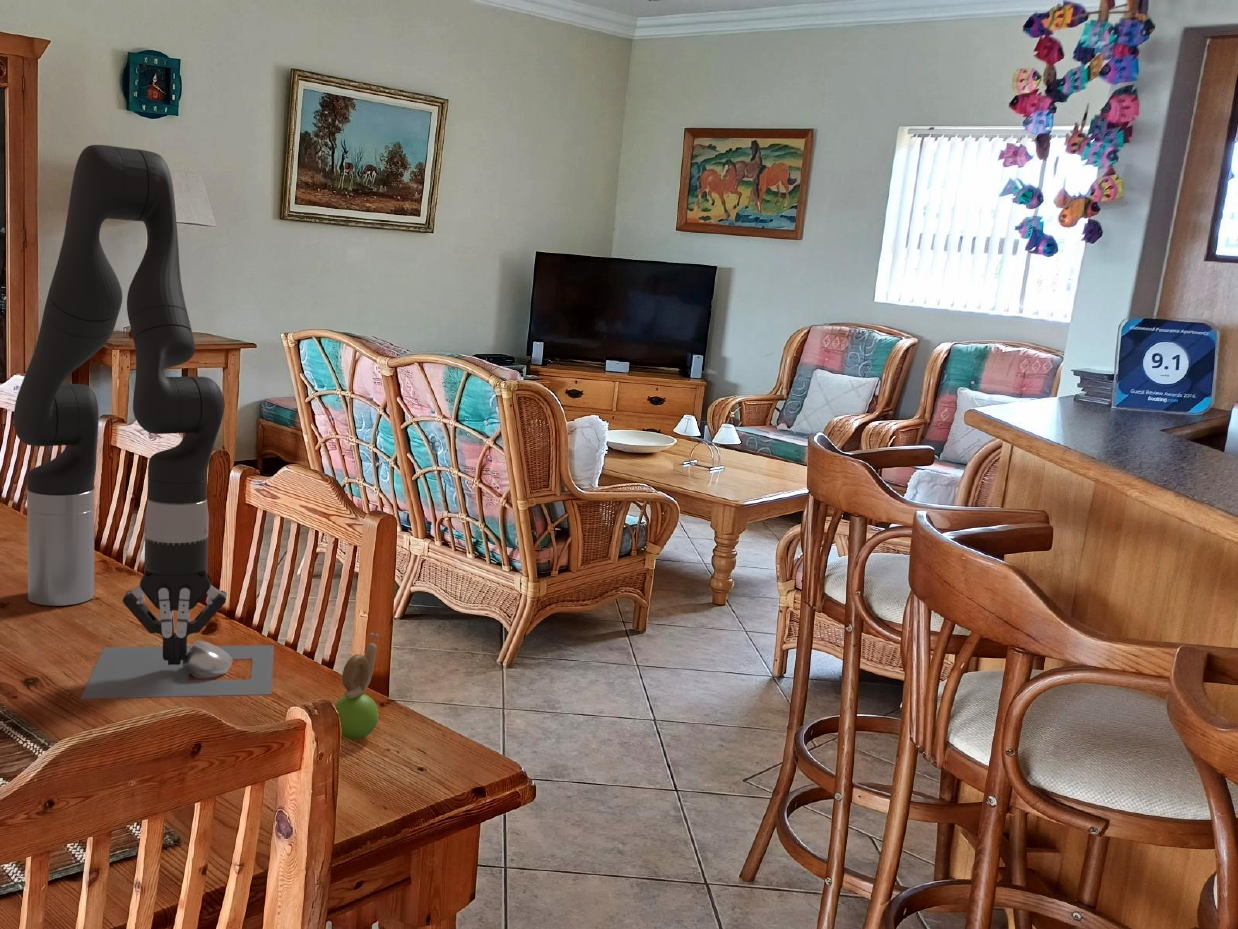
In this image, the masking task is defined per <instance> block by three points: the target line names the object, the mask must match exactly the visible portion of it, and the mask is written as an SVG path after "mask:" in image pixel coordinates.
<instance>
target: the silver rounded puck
mask: <svg viewBox="0 0 1238 929" xmlns="http://www.w3.org/2000/svg"><path fill="white" fill-rule="evenodd" d="M191 646H192V647H191V649H190V650H189V652H188V654H187V655H186V658H185V660H183V662H182V666H183V667H184V669H185V670H186V671H187V672H189V673H190V674H189V675H191V676H192V677H195V678H196V679H210V678H217V677H220V676H222V675H225V674H226V673H228V671H229V669H230V668H231V666H232V664H233V662H234V659H232V657H231V656H230V655H229V654H228V653H227V652H225V651H224V650H223V649H221V648H219V647H217V646H218V645H216V644H215V645H214V644H213V643H210V642H208V641H204V640H195V641H194V642H193V644H192V645H191Z"/></svg>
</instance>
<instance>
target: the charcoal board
mask: <svg viewBox="0 0 1238 929" xmlns="http://www.w3.org/2000/svg"><path fill="white" fill-rule="evenodd" d="M216 646H217V647H219V648H221V649H223V650H224V651H225V652H227V653H228V654H229V655H230V656H231V657H232V659H233V660H251V670H250V678H249V679H203V680H202V679H200V680H199V679H198V680H194V679H193V680H189V677H190V675H191V674H190V673H189V672H187V671H186V670H185V669H184V667H183V666H182V662H183V660H181V663H180V665H168V660H164V659H163V646H119V647H118V646H112V647H111V646H109V647H108V646H107V647H105V646H103V648H102V651H101V652H100V654H99V657H98V659H97V661H96V664H95V665H94V667H93V670H92V672H91V674H90V677H89V678H88V681H87V683H86V685H85V688H84V689H83V691H82V694H81V696H80V698H79V699H80V700H102V699H140V698H141V699H143V698H181V697H183V698H185V697H186V698H187V697H188V698H189V697H190V698H191V697H229V696H235V697H236V696H267V695H269V696H270V695H272V694H273V693H272V692H273V691H272V689H273V672H274V671H273V670H274V650H275V645H266V644H265V645H262V644H261V645H216ZM191 647H192V645H191V646H189V645H187V654H188V652H189V650H190V649H191Z"/></svg>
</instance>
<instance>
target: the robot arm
mask: <svg viewBox="0 0 1238 929" xmlns="http://www.w3.org/2000/svg"><path fill="white" fill-rule="evenodd" d="M169 168H170V167H169V166H168V164H167V162H166V160H165V159H164V157H162V155H160V154H159V153H157V152H154V151H150V150H146V149H145V150H144V149H139V148H138V149H137V148H129V147H128V148H127V147H122V146H113V145H106V144H90V145H87V146H86V147H84V149H83V150H82V151H81V153H80V154H79V156H78V159H77V162H76V164H75V167H74V172H73V176H72V177H73V178H72V184H71V189H70V196H69V203H68V209H67V214H66V216H67V217H66V221H65V223H66V224H65V228H64V234H63V240H62V242H61V248H60V251H59V255H58V258H57V259H58V260H57V263H56V265H55V269H54V273H53V276H52V279H51V283H50V284H49V290H48V293H47V297H46V301H45V304H44V309H43V314H42V318H41V323H40V326H39V327H40V328H39V330H38V335H37V336H38V337H37V340H36V344H35V347H34V351H33V353H32V357H31V359H30V362H29V365H28V368H27V369H26V372H25V374H24V377H23V380H22V382H21V385H20V387H19V390H18V394H17V396H16V400H15V404H14V411H13V428H14V432H15V435H16V436H17V438H18V440H20V442H22V443H23V444H25V445H27V446H33V447H54V446H64V447H65V448H64V450H63V451H62V452H61V453H60V454H59V455H57V456H55V457H54V458H53V459H51V460H49V461H48V462H45V463H43V464H40V465H38V466H35V467H34V468H32V469H30V470H29V471H28V473H27V476H26V508H27V509H26V510H27V511H26V512H27V513H26V514H27V516H26V517H27V518H26V520H27V528H26V530H27V599H28V600H27V601H29V602H30V603H32V604H36V605H41V606H49V607H51V606H52V607H53V606H55V607H56V606H59V607H60V606H61V607H62V606H69V605H70V606H71V605H77V604H82V603H85V602H87V601H90V600H92V599H93V598H94V596H95V477H96V471H97V452H98V451H97V450H98V434H99V419H100V417H99V415H100V414H99V405H98V398H97V396H96V394H95V392H94V390H93V389H92V387H90V386H89V385H86V384H81V383H64V381H65V380H66V379H67V377H68V376H70V375H71V373H74V371H75V370H76V369H78V368H79V367H80V366H82V365H83V364H84V363H86V362H87V361H88V360H89V359H91V358H92V357H93V356H94V355H95V354H96V353H98V352H99V351H100V350H101V349H102V348H103V347H105V345H106V344H107V342H108V341H109V340H110V339H111V337H112V335H113V333H114V330H115V327H116V324H117V320H118V317H119V315H120V310H121V307H122V304H123V290H122V287H121V283H120V281H119V278H118V276H117V275H116V273H115V270H114V268H113V266H112V265H111V263H110V262H109V259H108V258H107V256H106V254H105V252H104V249H103V247H102V244H101V241H100V233H101V228H102V225H103V223H104V221H105V220H107V219H108V220H110V219H111V220H122V221H123V220H124V221H134V222H143V224H144V226H145V228H146V233H147V245H146V249H145V252H144V255H143V257H142V259H141V261H140V263H139V266H138V268H137V270H136V272H135V274H134V276H133V278H132V281H131V282H130V284H129V287H128V292H127V297H126V312H127V317H128V321H129V326H130V332H131V336H132V340H133V344H134V349H135V380H134V381H135V382H134V391H133V398H132V399H133V400H132V410H133V411H132V412H133V415H134V418H135V420H136V422H137V424H138V425H139V426H140V427H141V428H142V429H143V430H144V431H146V432H147V433H149V434H153V435H166V434H167V435H168V434H169V435H170V434H184V436H183V438H182V439H181V441H180V443H178V444H177V445H176V446H173V447H171V448H168V449H165V450H161V451H157V452H156V453H154V454H152V455H151V456H150V458H149V460H148V465H147V499H146V500H147V504H146V509H145V517H144V526H143V532H144V566H143V567H144V569H143V570H144V571H143V572H144V573H143V575H142V577H141V578H140V581H139V585H137V587H135V588H134V589H132V590H127V591H126V592H125V594H124V595H123V598H122V603H123V605H124V606H125V607H126V608H127V609H128V610H129V611H130V612H131V614H132V615H133V616H134V617H135V618H136V619H137V621H138V622H139V623H140V624H141V625H142V626H143V627H144V629H145V630H146V631H147V632H148V633H149V634H157V635H159V636H161V638H162V647H163V659H164V660H168V665H180V663H181V660H185V658H186V655H187V646H188V636H189V635H191V634H198V633H200V632H201V630H202V629H204V627H206V625H207V624H208V623H209V622H210V621H211V619H213V618H214V617H215V615H216V614H217V613H218V612H219V611H220V610H221V609H222V608H223V606H224V605H225V604H226V601H227V598H228V594H227V592H226V591H225V590H219V589H217V588H216V587H215V586H213V585H212V579H211V576H210V575H209V572H208V565H209V564H208V557H209V552H208V551H209V530H210V529H209V516H210V515H209V509H208V499H207V498H208V474H209V473H208V472H209V471H208V469H209V464H210V460H211V457H212V454H213V450H214V447H215V443H216V439H217V436H218V434H219V431H220V428H221V425H222V422H223V417H224V413H225V399H224V394H223V392H222V390H221V387H220V386H219V385H218V383H217V382H216V381H214V380H213V379H212V378H211V377H207V376H165V373H164V370H166V369H170V368H175V367H178V366H181V365H183V364H185V363H187V362H189V361H191V359H192V358H193V356H194V355H195V352H196V344H195V338H194V334H193V330H192V327H191V326H192V325H191V323H190V322H191V321H190V318H189V314H188V310H187V306H186V305H187V304H186V302H185V297H184V296H185V295H184V291H183V285H182V279H181V269H180V268H181V266H180V254H179V253H180V252H179V237H178V225H177V222H178V221H177V213H176V202H175V192H174V185H173V180H172V176H171V171H170V169H169ZM144 595H145V596H146V597H147V599H148V600H149V601H150V602H151V603H152V605H153V607H155V608H156V609H158V610H159V616H160V617H159V618H160V620H159V618H157V616H156V615H155V614H154V613H153V612H152V610H151V609H150V608H149V607H148V606H147V605H146V604H145V603H144V602H145V601H146V598H145V596H144ZM205 595H207V597H206V600H205V603H206V604H207V605H206V606H204V608H203V609H202V610H201V611H200V612H199V614H198V615H197V616H195V618H194V619H192V620H191V621H190V613H191V612H190V611H191V610H193V609H194V608H196V606H197V604H199V603H200V601H201V600H202V598H203V597H204V596H205ZM174 611H176V612H177V618H176V621H177V622H176V629H175V623H174V622H175V621H174ZM175 630H176V632H175Z"/></svg>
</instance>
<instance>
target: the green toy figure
mask: <svg viewBox="0 0 1238 929" xmlns="http://www.w3.org/2000/svg"><path fill="white" fill-rule="evenodd" d="M368 636H369V638H370V643H368V644H367V645H366V648H365V652H366V655H363V654H361V653H360V654H359V653H358V654H354V655H352V656H351V657H350V658H349V659H347V661H346V662H345V665H344V667H343V670H342V673H341V674H342V676H341V681H342V686H343V687H344V689H345V690H346V691H344V693H343V695H344V696H342V697H341V698H339V699H338V700H337V702H336V703H335V704H334V706H336V708H337V711H338V712H339V717H340V722H341V727H342V736H341V737H343V738H345V739H347V740H360V739H363V738H365V737H367V736H369V735H370V734H372V732H373V731H374V730H375V729H376V727H377V725H378V723H379V722H378V721H379V715H380V714H379V708H378V706H377V703H376V702H375V701H374V699H373V698H372V697H370V696H369V695H367V694H364V692H365V690H366V689H367V688H368V686H369V685H370V684H371V680H372V677H373V673H374V668H375V663H376V653H377V651H378V646H377V640H378V638H379V634H378V633H373V632H371V633H369V635H368ZM373 638H375V643H373V642H372V640H373Z"/></svg>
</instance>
